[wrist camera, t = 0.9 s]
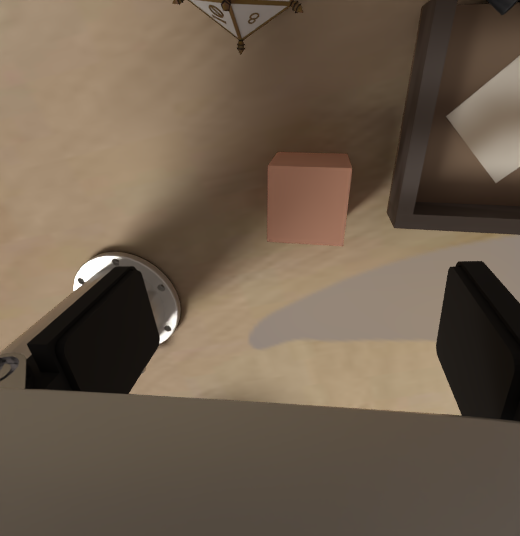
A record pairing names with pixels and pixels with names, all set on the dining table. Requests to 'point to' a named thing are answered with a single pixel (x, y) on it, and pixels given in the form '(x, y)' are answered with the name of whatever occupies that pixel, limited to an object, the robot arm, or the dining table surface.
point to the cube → (308, 198)
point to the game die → (243, 14)
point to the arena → (461, 123)
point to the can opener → (502, 5)
